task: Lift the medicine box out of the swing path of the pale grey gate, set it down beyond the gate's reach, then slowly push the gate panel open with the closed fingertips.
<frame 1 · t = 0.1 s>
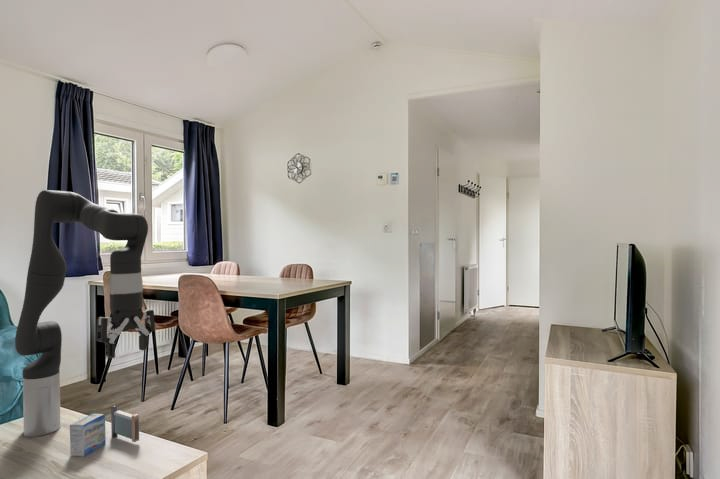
hand: (127, 353, 113), 29 cm above the table, tool pointing down, fingers open, 8 cm apart
medicine box: (88, 450, 123), on the table
gate: (126, 424, 128), point 5 cm above the table, hinge at 0.0°
gate post: (114, 436, 131), on the table
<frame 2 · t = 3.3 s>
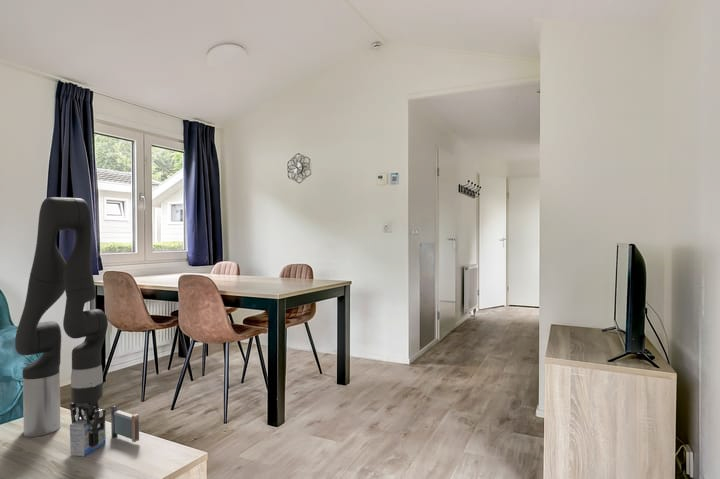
hand: (87, 442, 123), 2 cm above the table, tool pointing down, fingers closed on medicine box, 5 cm apart
medicine box: (88, 450, 123), on the table, touching gripper
everything else where it was.
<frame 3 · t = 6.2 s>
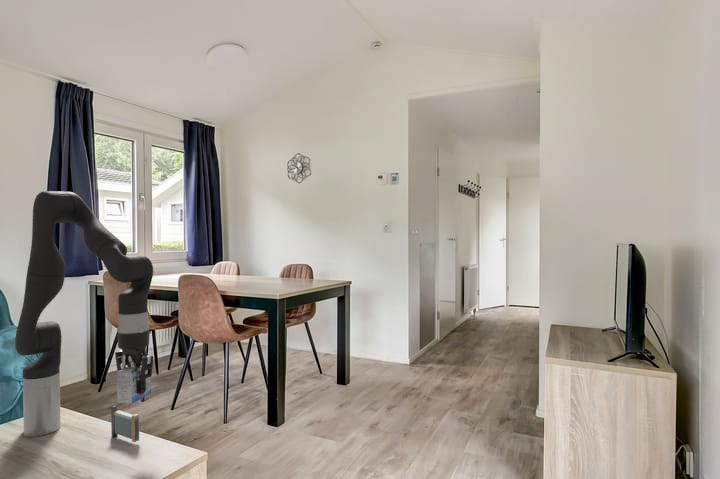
hand: (134, 391, 120), 17 cm above the table, tool pointing down, fingers closed on medicine box, 5 cm apart
medicine box: (134, 399, 120), point 15 cm above the table, touching gripper
everything else where it was.
when the fingers open (3 cm above the table, at t = 9.1 s): medicine box drops 1 cm, on the table.
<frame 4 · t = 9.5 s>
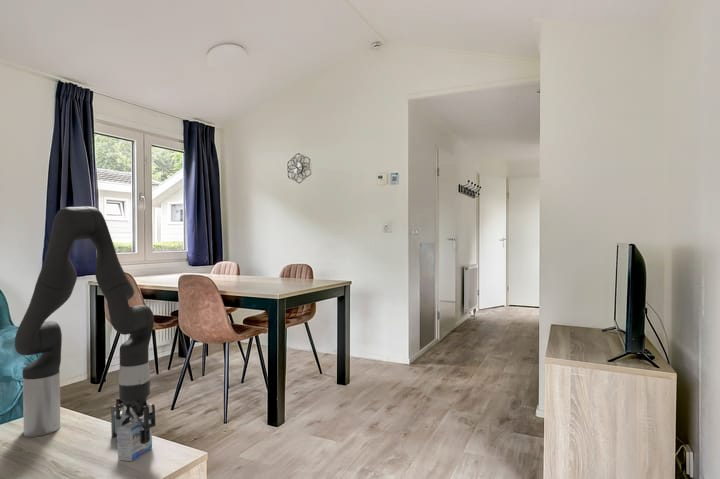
hand: (135, 439, 120), 4 cm above the table, tool pointing down, fingers open, 8 cm apart
medicine box: (135, 454, 120), on the table
everything else where it was.
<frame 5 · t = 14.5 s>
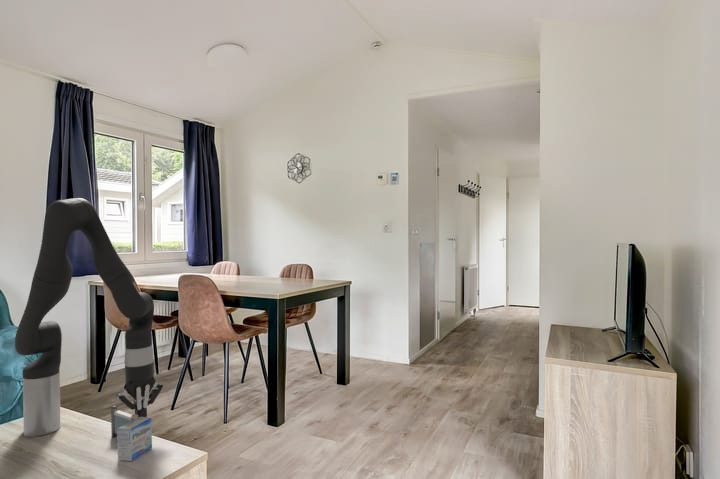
hand: (141, 420, 129), 5 cm above the table, tool pointing down, fingers closed
gate: (126, 424, 128), point 5 cm above the table, hinge at 1.1°, touching gripper
everything else where it was.
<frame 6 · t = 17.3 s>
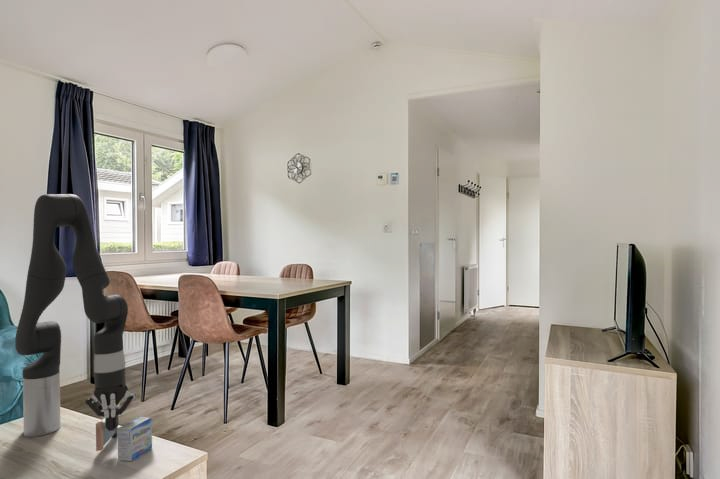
hand: (112, 429, 123), 6 cm above the table, tool pointing down, fingers closed
gate: (106, 429, 125), point 5 cm above the table, hinge at 50.1°, touching gripper
everything else where it was.
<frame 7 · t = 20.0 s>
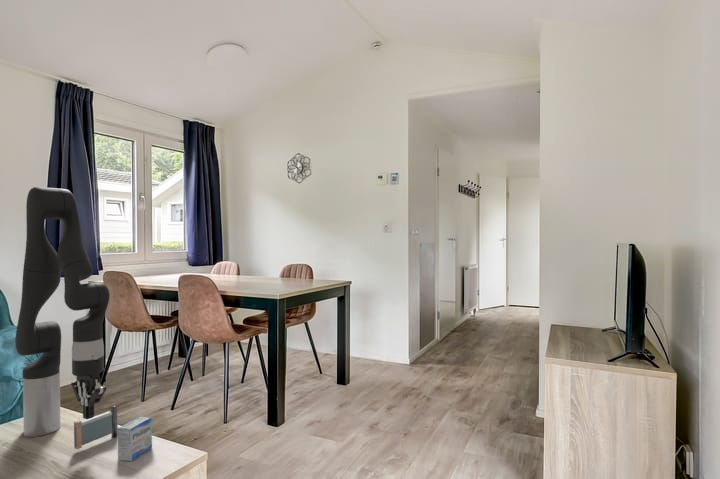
hand: (88, 417, 122), 9 cm above the table, tool pointing down, fingers closed
gate: (93, 428, 126), point 5 cm above the table, hinge at 88.4°
everything else where it was.
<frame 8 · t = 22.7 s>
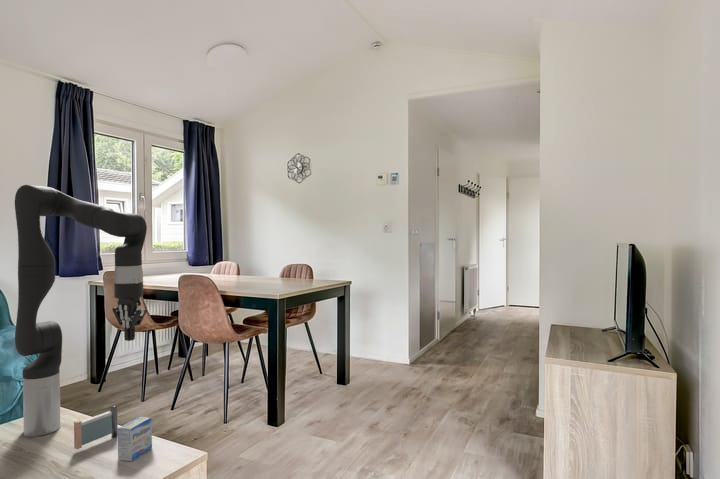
hand: (129, 340, 129), 29 cm above the table, tool pointing down, fingers closed
nothing on the table moved.
at the end: gate at +88° (first picture: +0°); medicine box 0.3 cm from the target spot, on the table; medicine box tilted 0° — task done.
